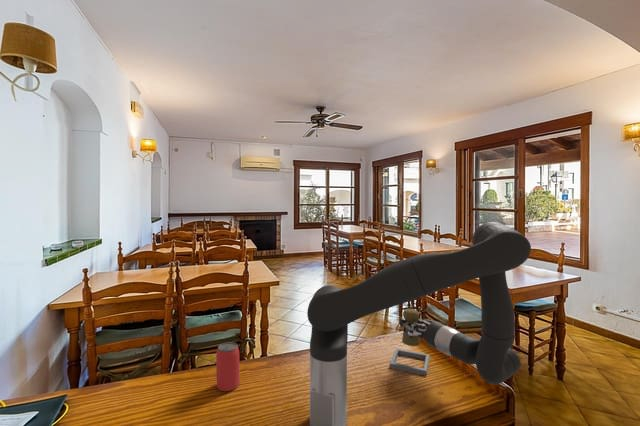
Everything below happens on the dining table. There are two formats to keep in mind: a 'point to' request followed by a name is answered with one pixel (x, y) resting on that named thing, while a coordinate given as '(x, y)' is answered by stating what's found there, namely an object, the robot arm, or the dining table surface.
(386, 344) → the dining table surface
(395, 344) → the dining table surface
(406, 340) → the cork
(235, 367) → the beer can
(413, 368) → the gray square frame
